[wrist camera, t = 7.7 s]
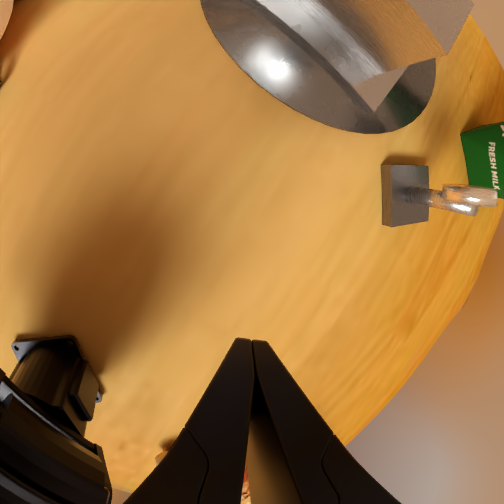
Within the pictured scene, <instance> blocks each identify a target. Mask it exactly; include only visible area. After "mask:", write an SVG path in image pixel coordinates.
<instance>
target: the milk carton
mask: <svg viewBox="0 0 504 504" xmlns="http://www.w3.org/2000/svg"><path fill="white" fill-rule="evenodd" d="M460 135H461V139H462V144H463V149H464V154H465V160H466V166H467V172H468V179H469V185H474V186H481V187H487V188H492V189H496V190H498V198H502V199H504V122H500V123H495V124H489V125H483V126H481V127H478V128H475V129H473V130H470V131H467V132H465V133H462V134H460Z"/></svg>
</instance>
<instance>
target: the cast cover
mask: <svg viewBox="0 0 504 504" xmlns="http://www.w3.org/2000/svg"><path fill="white" fill-rule="evenodd" d="M240 1H242V2H243V3H245V4H246V5H248V6H249V7H250V8H252V9H253V10H254V11H256V12H257V13H259V14H260V15H261V16H263V17H264V18H265V19H266V20H268V21H269V22H270V23H272V24H273V25H274V26H275V27H277V28H278V29H279V30H280V31H281V32H283V33H284V34H285V35H286V36H287V37H289V38H290V39H291V40H292V41H293V42H294V43H296V44H297V45H298V46H299V47H300V48H301V49H302V50H303V51H304V52H306V53H307V54H308V55H309V56H310V57H311V58H312V59H313V60H314V61H315V62H316V63H317V64H318V65H319V66H320V67H321V68H322V69H323V70H324V71H325V72H326V73H327V74H328V75H329V76H330V77H331V78H332V79H333V80H334V81H335V82H336V83H337V84H338V85H339V86H340V87H341V88H342V89H343V90H344V91H345V92H346V93H347V95H348V96H349V97H350V98H351V99H352V100H353V101H354V102H355V103H356V105H357V106H358V107H359V108H360V109H361V110H362V112H363V113H364V114H368V113H372V112H375V110H376V109H377V108H378V106H379V105H380V104H381V102H382V101H383V100H384V98H385V97H386V96H387V94H388V93H389V91H390V90H391V89H392V87H393V86H394V85H395V83H396V82H397V81H398V79H399V78H400V76H401V75H402V74H403V72H404V71H405V70H406V68H407V67H408V66H409V65H411V64H414V63H417V62H421V61H425V60H428V59H432V58H436V57H440V56H444V55H447V54H448V53H449V51H450V49H451V47H452V45H453V44H454V42H455V40H456V38H457V36H458V34H459V33H460V31H461V29H462V27H463V25H464V23H465V21H466V19H467V17H468V15H469V13H470V11H471V9H472V7H473V5H474V4H473V3H472V1H471V0H240Z"/></svg>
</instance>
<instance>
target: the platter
mask: <svg viewBox="0 0 504 504" xmlns="http://www.w3.org/2000/svg"><path fill="white" fill-rule="evenodd" d="M201 5H202V8H203V11H204V14H205V17H206V20H207V22H208V24H209V26H210V28H211V29H212V31H213V33H214V35H215V37H216V38H217V40H218V41H219V42H220V44H221V45H222V47H223V48H224V49H225V51H226V52H227V53H228V55H229V56H230V57H231V58H232V59H233V60H234V61H235V62H236V63H237V65H238V66H239V67H240V68H241V69H242V70H243V71H244V72H245V73H246V74H248V75H249V76H250V77H251V78H252V79H253V80H254V81H255V82H256V83H257V84H258V85H260V86H261V87H262V88H264V89H265V90H266V91H268V92H269V93H270V94H271V95H273V96H274V97H275V98H277V99H278V100H280V101H282V102H283V103H285V104H286V105H288V106H289V107H291V108H293V109H294V110H296V111H298V112H300V113H302V114H304V115H306V116H308V117H310V118H311V119H313V120H316V121H319V122H321V123H324V124H326V125H329V126H331V127H334V128H338V129H342V130H345V131H349V132H357V133H363V134H380V133H385V132H391V131H395V130H397V129H400V128H402V127H404V126H406V125H408V124H409V123H411V122H412V121H414V120H415V119H416V118H417V117H418V116H419V115H420V114H421V113H422V111H423V110H424V108H425V107H426V106H427V104H428V101H429V99H430V97H431V94H432V91H433V88H434V82H435V71H436V64H435V58H432V59H428V60H425V61H421V62H417V63H414V64H411V65H409V66H408V67H407V68H406V70H405V71H404V72H403V74H402V75H401V76H400V78H399V79H398V81H397V82H396V83H395V85H394V86H393V87H392V89H391V90H390V91H389V93H388V94H387V96H386V97H385V98H384V100H383V101H382V102H381V104H380V105H379V106H378V108H377V109H376V110H375V112H372V113H368V114H364V113H363V112H362V110H361V109H360V108H359V107H358V106H357V105H356V103H355V102H354V101H353V100H352V99H351V98H350V97H349V96H348V95H347V93H346V92H345V91H344V90H343V89H342V88H341V87H340V86H339V85H338V84H337V83H336V82H335V81H334V80H333V79H332V78H331V77H330V76H329V75H328V74H327V73H326V72H325V71H324V70H323V69H322V68H321V67H320V66H319V65H318V64H317V63H316V62H315V61H314V60H313V59H312V58H311V57H310V56H309V55H308V54H307V53H306V52H304V51H303V50H302V49H301V48H300V47H299V46H298V45H297V44H296V43H294V42H293V41H292V40H291V39H290V38H289V37H287V36H286V35H285V34H284V33H283V32H281V31H280V30H279V29H278V28H277V27H275V26H274V25H273V24H272V23H270V22H269V21H268V20H266V19H265V18H264V17H263V16H261V15H260V14H259V13H257V12H256V11H254V10H253V9H252V8H250V7H249V6H248V5H246V4H245V3H243V2H242V1H240V0H201Z"/></svg>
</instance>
